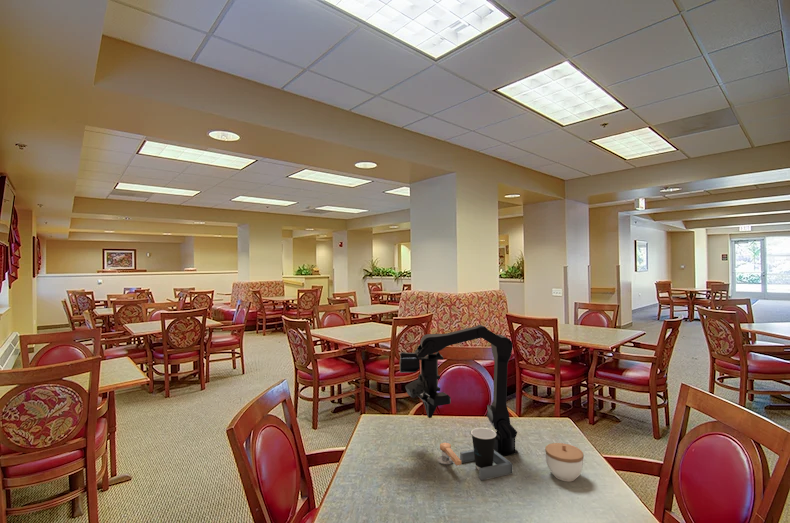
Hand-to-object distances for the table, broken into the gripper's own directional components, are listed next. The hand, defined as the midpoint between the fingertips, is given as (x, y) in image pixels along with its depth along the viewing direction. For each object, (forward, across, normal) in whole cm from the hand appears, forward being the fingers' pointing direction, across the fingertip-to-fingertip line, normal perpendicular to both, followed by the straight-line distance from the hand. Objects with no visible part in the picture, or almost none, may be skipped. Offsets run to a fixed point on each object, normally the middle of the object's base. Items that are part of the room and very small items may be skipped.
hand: (429, 417), depth 135 cm
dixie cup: (+12, +16, +11) cm, 23 cm away
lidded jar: (+12, +29, +30) cm, 44 cm away
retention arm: (+8, +12, +1) cm, 14 cm away
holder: (+12, +16, +11) cm, 23 cm away
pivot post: (+12, +7, +2) cm, 14 cm away
